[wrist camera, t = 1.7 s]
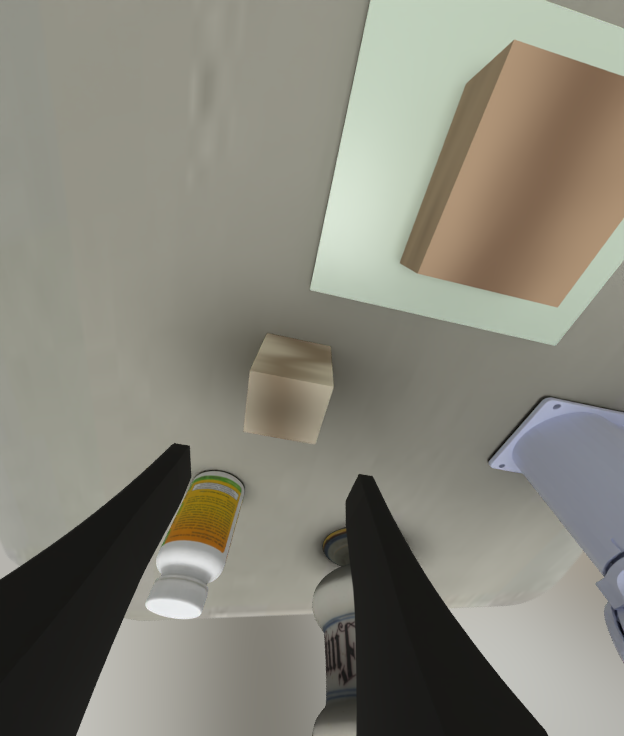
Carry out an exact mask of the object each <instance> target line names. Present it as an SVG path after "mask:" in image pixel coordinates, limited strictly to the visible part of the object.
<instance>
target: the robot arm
mask: <svg viewBox="0 0 624 736" xmlns="http://www.w3.org/2000/svg"><path fill="white" fill-rule="evenodd" d="M489 465H490V467H491V468H495V469H501V470H506V471H512V472H517V473H523V474H524V476H525V477H526V478H527V480H528V481H529V482H530V483H531V485H532V486H533V487H534V488H535V490H536V491H537V492H538V494H539V495H540V496H541V497H542V499H543V500H544V501H545V502H546V504H547V505H548V506H549V507H550V509H551V510H552V511H553V513H554V514H555V515H556V516H557V518H558V519H559V520H560V521H561V523H562V524H563V525H564V527H565V528H566V529H567V530H568V532H569V533H570V534H571V535H572V537H573V538H574V539H575V541H576V542H577V543H578V544H579V546H580V547H581V548H582V549H583V551H584V552H585V553H586V554H587V556H588V557H589V558H590V560H591V561H592V562H593V563H594V565H595V566H596V567H597V569H598V570H599V571H600V572H601V574H602V575H603V576H604V578H603V579H601V580H600V581H598V582H596V586H597V587H598V588H599V590H600V591H601V592H602V594H603V595H604V596H605V598H606V599H607V600H608V602H607V604H606V605H605V609H604V616H605V621H606V625H607V627H608V631H609V633H610V636H611V638H612V641H613V643H614V646H615V648H616V650H617V652H618V654H619V655H620V657H621V659H622V661H623V663H624V412H619V411H614V410H609V409H604V408H600V407H595V406H590V405H585V404H580V403H575V402H571V401H566V400H561V399H556V398H545V399H543V400H542V401H541V402H540V403H539V405H538V406H537V407H536V408H535V409H534V410H533V411H532V413H531V414H530V415H529V416H528V417H527V418H526V419H525V421H524V422H523V423H522V424H521V425H520V426H519V427H518V429H517V430H516V431H515V432H514V433H513V434H512V435H511V437H510V438H509V439H508V440H507V441H506V442H505V443H504V445H503V446H502V447H501V448H500V449H499V450H498V451H497V453H496V454H495V455H494V456H493V457H492V458H491V459H490V461H489ZM190 479H191V461H190V446H188V445H182V444H176V443H174V444H172V445H171V446H170V447H169V448H168V449H167V450H166V451H165V452H164V453H163V454H162V455H161V456H160V457H159V458H158V459H157V460H155V461H154V462H153V463H152V464H151V465H150V466H149V467H148V468H147V469H146V470H145V471H144V472H142V473H141V474H140V475H139V476H138V477H137V478H136V479H134V480H133V481H132V482H131V483H130V484H129V485H128V486H126V487H125V488H124V489H123V490H122V491H121V492H119V493H118V494H117V495H116V496H115V497H113V498H112V499H111V500H110V501H108V502H107V503H106V504H105V505H104V506H102V507H101V508H100V509H99V510H97V511H96V512H95V513H94V514H92V515H91V516H90V517H89V518H87V519H86V520H85V521H83V522H82V523H81V524H79V525H78V526H77V527H75V528H74V529H73V530H71V531H70V532H69V533H67V534H66V535H64V536H63V537H62V538H60V539H59V540H58V541H56V542H55V543H53V544H52V545H51V546H49V547H48V548H46V549H45V550H43V551H42V552H40V553H39V554H38V555H36V556H35V557H33V558H32V559H30V560H29V561H27V562H26V563H24V564H23V565H22V566H20V567H19V568H17V569H16V570H14V571H13V572H11V573H9V574H8V575H6V576H5V577H3V578H2V579H0V736H76V734H77V732H78V729H79V726H80V724H81V721H82V719H83V716H84V713H85V711H86V708H87V706H88V703H89V701H90V698H91V696H92V693H93V691H94V688H95V686H96V683H97V681H98V678H99V676H100V673H101V671H102V668H103V666H104V664H105V661H106V659H107V656H108V654H109V651H110V649H111V646H112V644H113V642H114V639H115V637H116V635H117V632H118V630H119V628H120V625H121V623H122V620H123V618H124V616H125V614H126V611H127V609H128V607H129V604H130V602H131V600H132V598H133V595H134V593H135V591H136V589H137V586H138V584H139V582H140V579H141V577H142V575H143V573H144V571H145V569H146V567H147V565H148V563H149V561H150V559H151V558H152V556H153V554H154V552H155V550H156V548H157V546H158V545H159V543H160V541H161V539H162V537H163V535H164V533H165V531H166V530H167V528H168V526H169V524H170V522H171V520H172V518H173V516H174V515H175V513H176V511H177V509H178V507H179V505H180V503H181V501H182V498H183V496H184V494H185V491H186V489H187V486H188V484H189V481H190ZM346 532H347V541H348V550H349V559H350V567H351V576H352V585H353V595H354V610H355V637H356V701H357V718H356V736H548V734H547V732H546V731H545V729H544V728H543V727H542V726H541V725H540V724H539V723H538V721H537V720H536V719H535V718H534V717H533V715H532V714H531V713H530V712H529V711H528V710H527V708H526V707H525V706H524V705H523V704H522V703H521V701H520V700H519V699H518V698H517V697H516V695H515V694H514V693H513V692H512V691H511V690H510V688H509V687H508V686H507V685H506V684H505V682H504V681H503V680H502V679H501V678H500V676H499V675H498V674H497V672H496V671H495V670H494V669H493V667H492V666H491V665H490V664H489V662H488V661H487V660H486V659H485V657H484V656H483V655H482V653H481V652H480V651H479V650H478V648H477V647H476V645H475V644H474V643H473V642H472V640H471V639H470V638H469V636H468V635H467V633H466V632H465V631H464V629H463V628H462V627H461V625H460V624H459V623H458V621H457V620H456V619H455V617H454V616H453V615H452V613H451V612H450V610H449V609H448V607H447V606H446V604H445V603H444V602H443V600H442V599H441V597H440V596H439V594H438V593H437V591H436V590H435V588H434V587H433V585H432V584H431V582H430V581H429V579H428V578H427V576H426V574H425V573H424V571H423V570H422V568H421V566H420V565H419V563H418V561H417V560H416V558H415V556H414V555H413V553H412V551H411V550H410V548H409V546H408V544H407V542H406V541H405V539H404V537H403V535H402V533H401V532H400V530H399V528H398V526H397V524H396V522H395V520H394V518H393V517H392V515H391V513H390V511H389V509H388V507H387V505H386V503H385V501H384V499H383V496H382V494H381V492H380V490H379V488H378V486H377V484H376V482H375V480H374V478H373V476H368V475H362V474H359V475H358V477H357V479H356V481H355V483H354V485H353V487H352V489H351V491H350V493H349V495H348V497H347V499H346Z"/></svg>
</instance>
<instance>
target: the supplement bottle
mask: <svg viewBox="0 0 624 736" xmlns="http://www.w3.org/2000/svg"><path fill="white" fill-rule="evenodd" d="M243 497H244V487H243V485H242V483H241V482H240V481H239V480H238V479H237V478H235V477H234V476H232V475H230V474H228V473H225V472H220V471H208V472H204V473H201V474H199V475H198V476H196V477H195V478H194V480H193V482H192V484H191V486H190V488H189V490H188V492H187V494H186V496H185V498H184V500H183V502H182V505H181V507H180V509H179V511H178V513H177V515H176V517H175V519H174V521H173V523H172V525H171V528H170V530H169V532H168V534H167V536H166V538H165V540H164V542H163V544H162V546H161V548H160V550H159V553H158V555H157V558H156V565H157V568H158V570H159V572H160V573H161V574H162V575H161V577H159V578H157V579H156V581H155V583H154V585H153V587H152V589H151V591H150V594H149V596H148V598H147V601H146V604H145V605H146V608H147V609H148V610H150V611H152V612H153V613H156V614H158V615H161V616H165V617H169V618H176V619H190V618H196V617H198V616H200V615H201V613H202V610H203V607H204V604H205V601H206V598H207V595H208V593H207V592H208V587H207V583H209V582H212V581H214V580H215V579H216V578H218V577H219V575H220V574H221V573H222V571H223V568H224V566H225V563H226V559H227V555H228V552H229V548H230V544H231V541H232V537H233V533H234V530H235V526H236V523H237V519H238V516H239V512H240V508H241V505H242V501H243Z"/></svg>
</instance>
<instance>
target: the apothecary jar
mask: <svg viewBox="0 0 624 736" xmlns="http://www.w3.org/2000/svg"><path fill="white" fill-rule="evenodd" d="M323 551H324V554H325V555H326V557H327V558H328V559H329V560H331V561H332V562H333V563H335V564H337V565H340V566H342V567H340V568H338V569H336V570H334V571H332V572H331V573H329V574H328V575H327V576H325V577H324V578H323V579H322V580H321V582H320V583H319V584H318V586H317V587H316V589H315V592H314V595H313V601H312V608H313V613H314V617H315V619H316V621H317V623H318V625H319V626H320V628H321V629H322V631H323V632H324V638H325V655H326V706H325V708H324V709H323V710H322V711H321V713H320V714H319V716H318V717H317V719H316V722H315V724H314V728H313V734H312V736H356V718H357V701H356V637H355V610H354V595H353V585H352V576H351V567H350V559H349V550H348V541H347V532H346V528H344V529H340V530H337V531H335V532H333V533H331V534H330V535H329V536H328V537H327V538H326V539H325V540H324V543H323Z"/></svg>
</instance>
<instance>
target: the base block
mask: <svg viewBox="0 0 624 736" xmlns="http://www.w3.org/2000/svg"><path fill="white" fill-rule="evenodd" d="M623 218H624V76H621V75H618V74H615V73H612V72H609V71H606V70H604V69H601V68H598V67H595V66H592V65H589V64H586V63H583V62H580V61H577V60H574V59H571V58H568V57H565V56H562V55H559V54H556V53H553V52H550V51H547V50H544V49H541V48H538V47H535V46H532V45H529V44H526V43H523V42H520V41H517V40H513V41H512V42H511V43H510V44H509V45H508V46H507V47H506V48H505V49H503V50H502V51H501V52H500V53H499V54H498V55H497V56H496V57H495V58H494V59H492V60H491V61H490V62H489V63H488V64H487V65H486V66H485V67H484V68H483V69H481V70H480V71H479V72H478V73H477V74H476V75H475V76H474V77H473V78H472V79H471V80H469V81H468V82H467V83H466V85H465V88H464V91H463V93H462V96H461V99H460V101H459V104H458V107H457V109H456V112H455V115H454V118H453V120H452V123H451V126H450V128H449V131H448V134H447V136H446V139H445V142H444V144H443V147H442V150H441V153H440V155H439V158H438V161H437V163H436V166H435V169H434V171H433V174H432V177H431V180H430V182H429V185H428V188H427V190H426V193H425V196H424V198H423V201H422V204H421V207H420V209H419V212H418V215H417V217H416V220H415V223H414V225H413V228H412V231H411V233H410V236H409V239H408V242H407V244H406V247H405V250H404V252H403V255H402V258H401V260H400V264H402V265H404V266H405V267H407V268H409V269H410V270H412V271H414V272H416V273H417V274H421V275H425V276H429V277H433V278H437V279H442V280H446V281H450V282H454V283H458V284H462V285H466V286H471V287H475V288H479V289H483V290H487V291H491V292H495V293H499V294H504V295H508V296H512V297H516V298H520V299H524V300H528V301H532V302H537V303H541V304H545V305H549V306H553V307H557V308H558V307H559V305H560V304H561V302H562V301H563V300H564V298H565V297H566V296H567V294H568V293H569V292H570V290H571V289H572V288H573V286H574V285H575V283H576V282H577V281H578V279H579V278H580V277H581V275H582V274H583V273H584V271H585V270H586V269H587V267H588V266H589V265H590V263H591V262H592V260H593V259H594V258H595V256H596V255H597V254H598V252H599V251H600V250H601V248H602V247H603V246H604V244H605V243H606V241H607V240H608V239H609V237H610V236H611V235H612V233H613V232H614V231H615V229H616V228H617V227H618V225H619V224H620V222H621V221H622V220H623Z"/></svg>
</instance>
